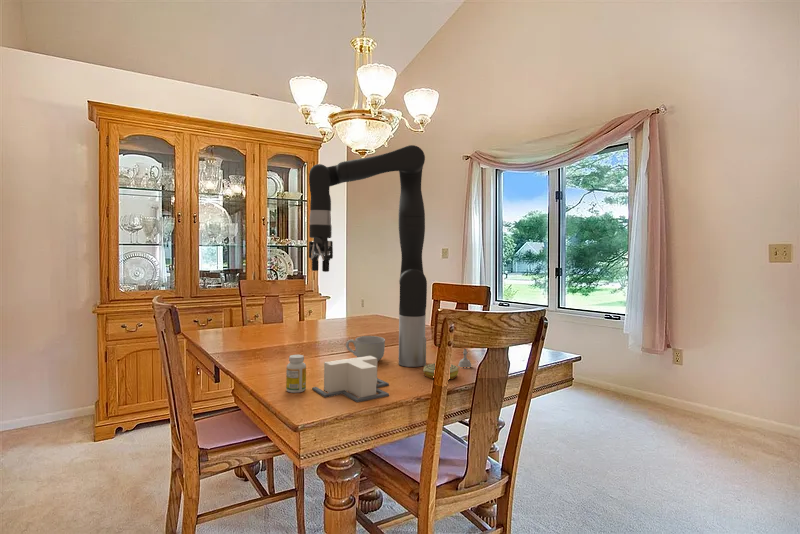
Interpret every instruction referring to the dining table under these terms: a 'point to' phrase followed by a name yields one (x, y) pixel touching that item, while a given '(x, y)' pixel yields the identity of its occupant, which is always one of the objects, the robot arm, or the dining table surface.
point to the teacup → (368, 346)
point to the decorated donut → (431, 367)
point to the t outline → (356, 399)
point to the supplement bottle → (296, 374)
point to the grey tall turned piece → (465, 360)
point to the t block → (351, 376)
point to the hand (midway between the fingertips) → (320, 271)
